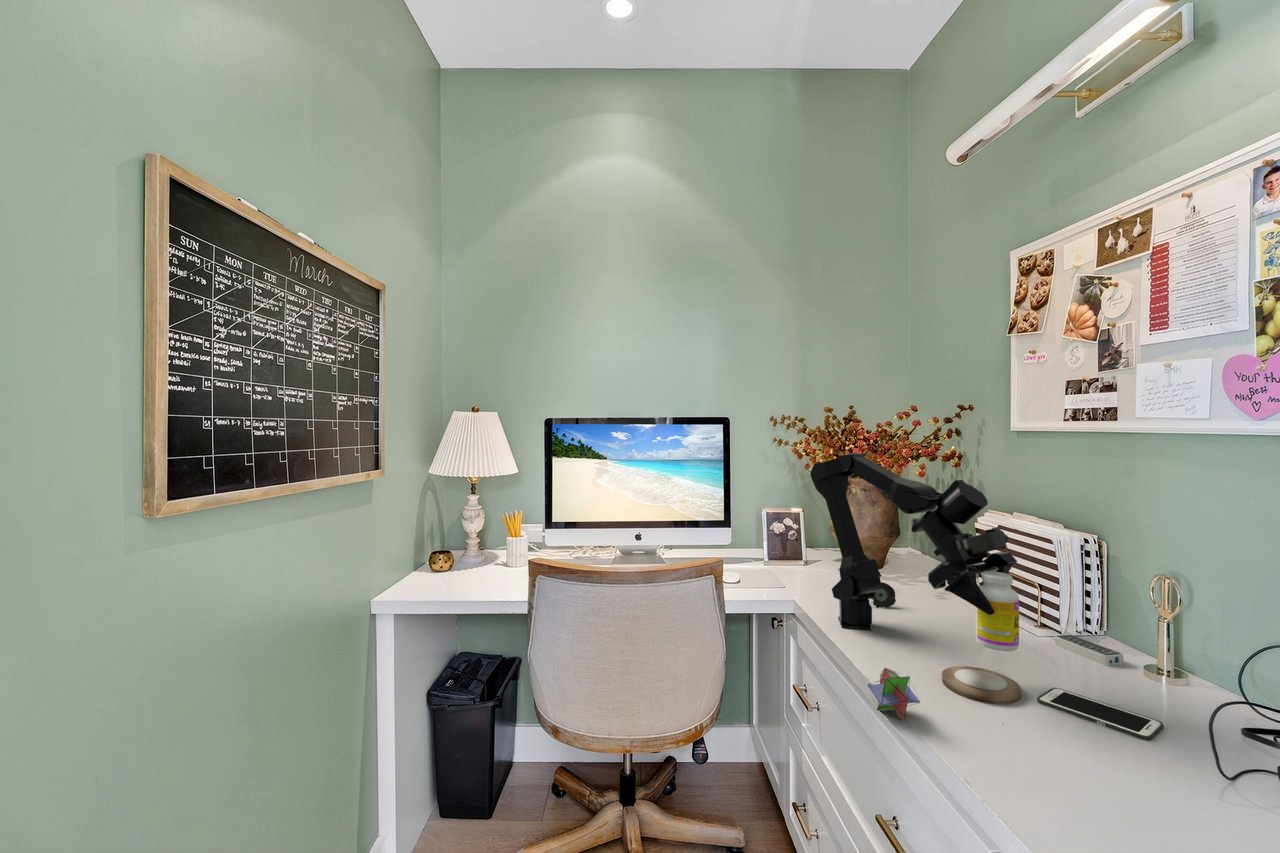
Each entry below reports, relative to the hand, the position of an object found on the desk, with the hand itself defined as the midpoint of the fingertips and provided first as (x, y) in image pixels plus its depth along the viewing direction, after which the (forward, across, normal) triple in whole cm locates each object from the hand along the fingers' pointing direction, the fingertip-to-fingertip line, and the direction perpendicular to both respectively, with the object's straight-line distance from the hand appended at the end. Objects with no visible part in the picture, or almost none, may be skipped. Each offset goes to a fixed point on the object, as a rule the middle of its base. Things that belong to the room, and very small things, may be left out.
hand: (1004, 611), depth 100 cm
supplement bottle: (+4, 0, +6) cm, 7 cm away
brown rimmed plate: (+8, -5, +10) cm, 14 cm away
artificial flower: (-25, +22, +45) cm, 56 cm away
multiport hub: (+9, +29, +10) cm, 32 cm away
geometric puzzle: (+8, -26, +11) cm, 30 cm away
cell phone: (+19, +3, +1) cm, 19 cm away
